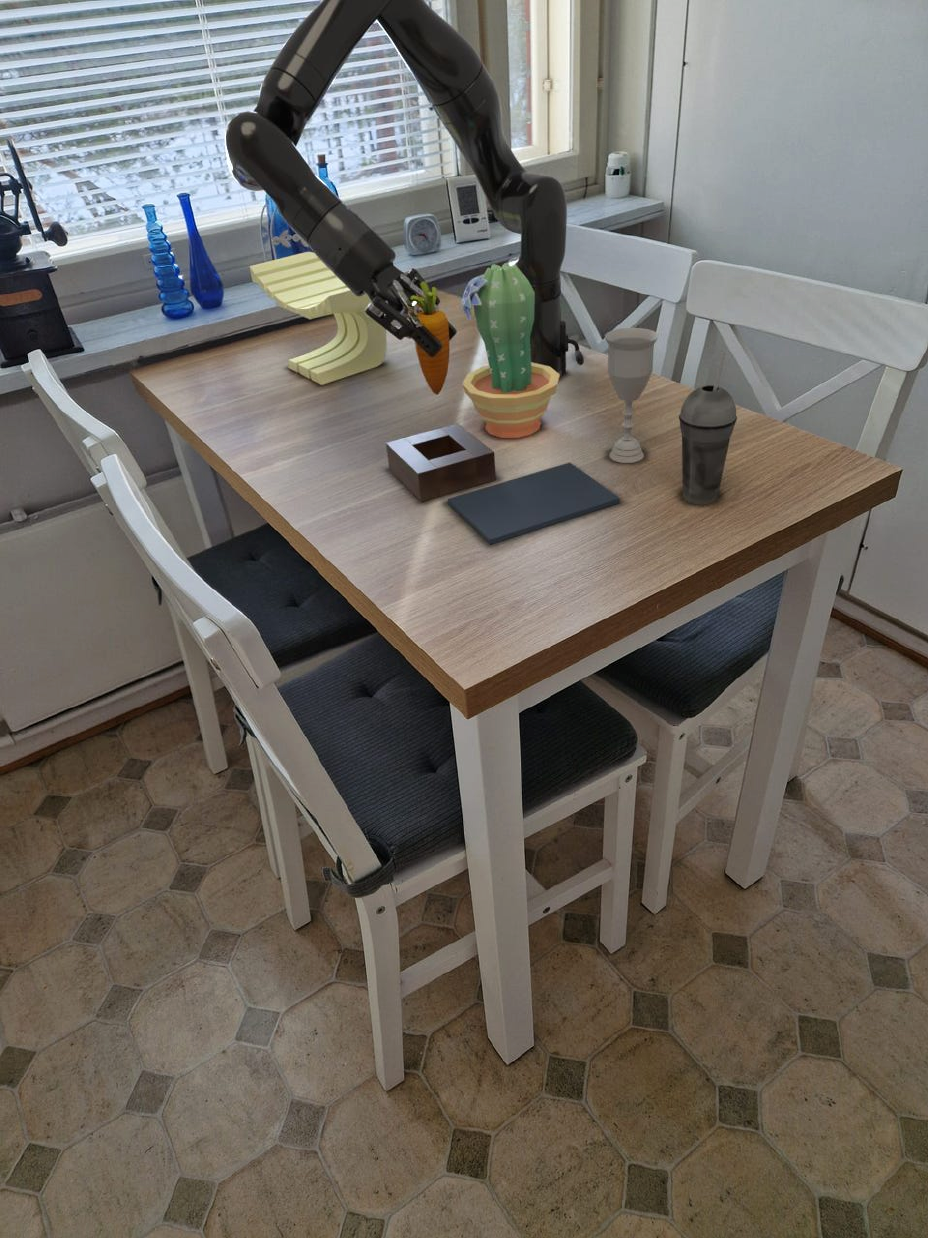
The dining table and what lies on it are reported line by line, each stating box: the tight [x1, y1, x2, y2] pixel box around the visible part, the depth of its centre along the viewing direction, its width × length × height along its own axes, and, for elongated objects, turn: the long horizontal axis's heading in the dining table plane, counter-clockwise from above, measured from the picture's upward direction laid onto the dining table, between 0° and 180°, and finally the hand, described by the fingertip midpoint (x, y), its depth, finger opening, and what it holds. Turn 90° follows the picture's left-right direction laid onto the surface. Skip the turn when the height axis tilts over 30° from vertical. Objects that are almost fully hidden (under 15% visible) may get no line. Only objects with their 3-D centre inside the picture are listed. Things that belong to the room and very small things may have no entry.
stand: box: [385, 423, 497, 503], centre depth 130 cm, size 12×12×4 cm
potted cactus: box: [461, 262, 560, 439], centre depth 136 cm, size 15×15×25 cm
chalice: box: [604, 327, 659, 464], centre depth 127 cm, size 7×7×18 cm
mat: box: [447, 462, 621, 545], centre depth 122 cm, size 20×13×1 cm, turn 116°
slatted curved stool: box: [249, 251, 392, 386], centre depth 167 cm, size 30×16×18 cm, turn 37°
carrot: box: [411, 281, 450, 395], centre depth 119 cm, size 5×5×15 cm
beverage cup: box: [678, 351, 738, 506], centre depth 114 cm, size 7×7×20 cm
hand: (444, 344), depth 119 cm, fingers closed on carrot, 5 cm apart
